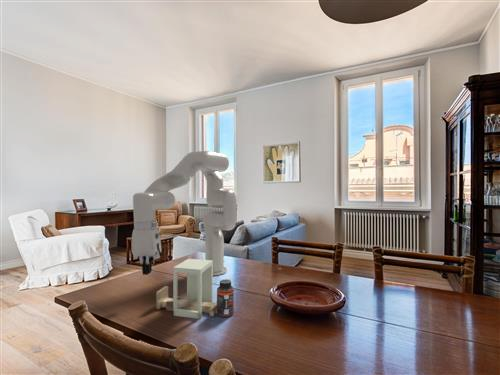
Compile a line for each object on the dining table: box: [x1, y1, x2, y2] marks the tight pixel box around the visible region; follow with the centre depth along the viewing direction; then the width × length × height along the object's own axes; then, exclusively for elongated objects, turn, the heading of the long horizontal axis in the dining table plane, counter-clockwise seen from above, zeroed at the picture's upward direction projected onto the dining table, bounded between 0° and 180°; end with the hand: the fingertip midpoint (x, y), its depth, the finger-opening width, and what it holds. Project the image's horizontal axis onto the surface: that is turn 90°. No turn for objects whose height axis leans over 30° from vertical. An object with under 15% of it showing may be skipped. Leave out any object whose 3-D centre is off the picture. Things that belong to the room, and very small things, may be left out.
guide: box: [165, 295, 182, 312], centre depth 96 cm, size 5×3×3 cm, turn 167°
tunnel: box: [172, 258, 214, 320], centre depth 94 cm, size 11×10×16 cm
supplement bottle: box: [216, 279, 235, 318], centre depth 91 cm, size 6×6×11 cm
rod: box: [155, 285, 217, 317], centre depth 95 cm, size 22×7×6 cm, turn 77°
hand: (147, 273), depth 100 cm, fingers closed
